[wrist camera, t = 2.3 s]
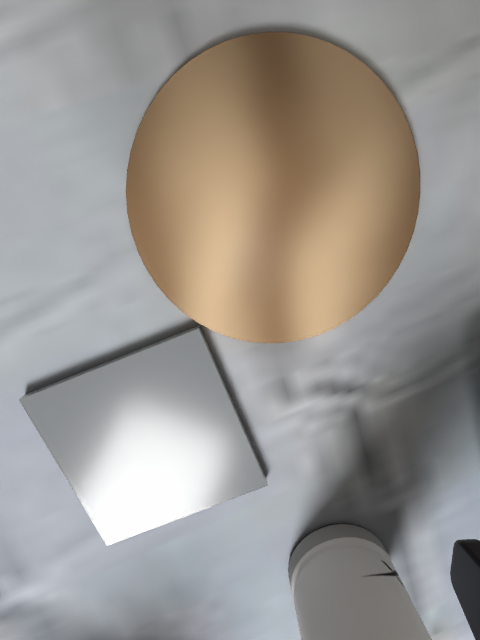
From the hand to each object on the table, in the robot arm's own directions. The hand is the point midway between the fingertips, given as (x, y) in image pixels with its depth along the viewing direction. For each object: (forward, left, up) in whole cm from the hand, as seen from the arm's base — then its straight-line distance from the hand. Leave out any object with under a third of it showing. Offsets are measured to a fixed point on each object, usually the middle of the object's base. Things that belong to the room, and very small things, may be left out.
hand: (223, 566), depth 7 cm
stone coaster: (-5, -4, -13) cm, 14 cm away
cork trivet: (+4, +7, -13) cm, 15 cm away
